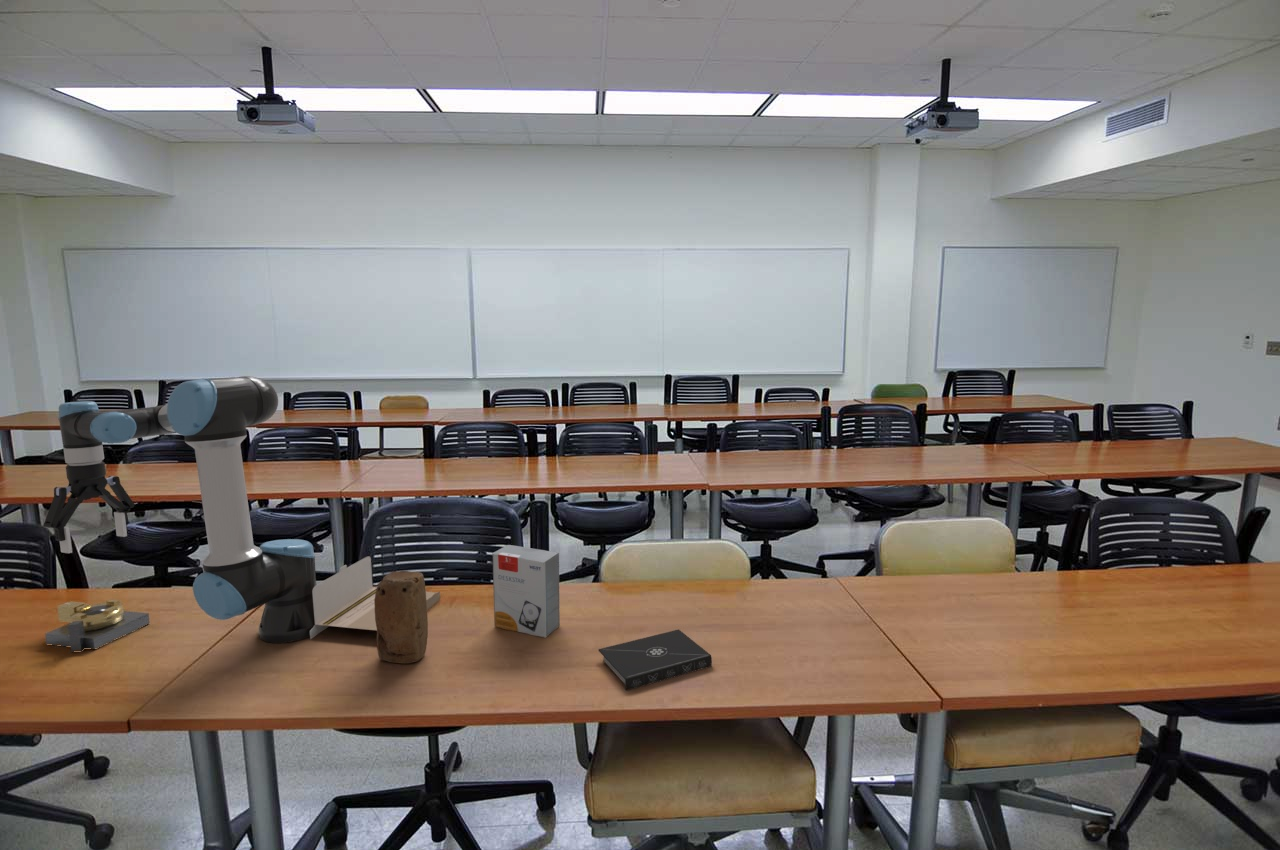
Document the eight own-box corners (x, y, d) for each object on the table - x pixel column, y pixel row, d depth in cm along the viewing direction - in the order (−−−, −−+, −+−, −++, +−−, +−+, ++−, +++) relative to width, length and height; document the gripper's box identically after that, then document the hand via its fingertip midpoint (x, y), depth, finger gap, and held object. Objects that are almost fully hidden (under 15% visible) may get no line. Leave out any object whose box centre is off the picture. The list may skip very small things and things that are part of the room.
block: (432, 650, 151) (427, 569, 148) (419, 666, 143) (414, 582, 140) (387, 648, 151) (382, 568, 148) (372, 665, 144) (367, 581, 141)
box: (374, 656, 149) (370, 598, 147) (299, 647, 153) (294, 591, 151) (448, 596, 183) (445, 549, 181) (384, 590, 187) (382, 544, 185)
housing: (149, 624, 164) (146, 598, 163) (85, 654, 149) (82, 626, 148) (104, 619, 167) (101, 594, 166) (37, 649, 151) (33, 621, 150)
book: (626, 693, 133) (626, 679, 133) (598, 661, 146) (597, 649, 146) (712, 668, 143) (712, 655, 143) (678, 640, 156) (678, 629, 156)
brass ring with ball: (134, 614, 162) (132, 599, 162) (94, 632, 152) (92, 616, 152) (85, 610, 165) (83, 595, 164) (43, 627, 155) (41, 611, 154)
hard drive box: (493, 627, 162) (490, 553, 159) (510, 615, 169) (507, 543, 166) (546, 638, 156) (544, 561, 153) (561, 625, 163) (559, 551, 160)
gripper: (124, 453, 173) (132, 528, 176) (16, 472, 150) (28, 558, 153) (145, 454, 171) (153, 530, 174) (39, 473, 148) (51, 561, 151)
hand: (95, 544), depth 163 cm, fingers open, 12 cm apart
